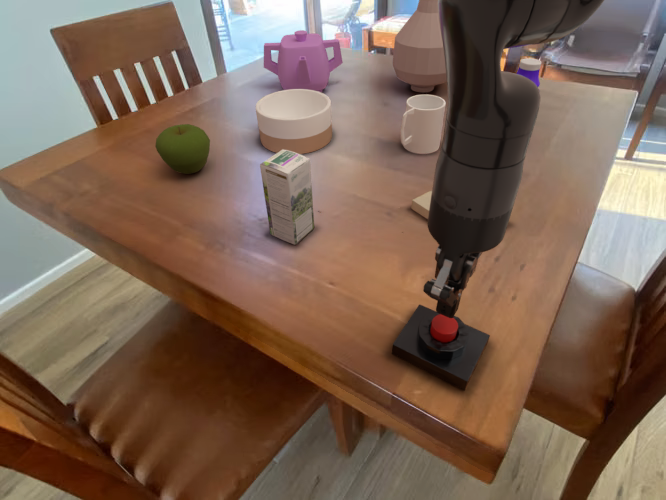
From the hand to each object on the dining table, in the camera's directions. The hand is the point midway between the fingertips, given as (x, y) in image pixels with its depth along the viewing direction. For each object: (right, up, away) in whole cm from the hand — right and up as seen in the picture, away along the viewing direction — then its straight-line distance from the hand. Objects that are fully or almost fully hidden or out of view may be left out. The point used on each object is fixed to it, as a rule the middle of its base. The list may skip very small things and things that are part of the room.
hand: (446, 311), depth 52 cm
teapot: (-22, +55, +75) cm, 96 cm away
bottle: (+27, +32, +47) cm, 63 cm away
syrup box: (-21, +10, +25) cm, 34 cm away
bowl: (-22, +34, +52) cm, 66 cm away
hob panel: (+9, +14, +26) cm, 31 cm away
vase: (+12, +54, +71) cm, 90 cm away
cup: (+5, +30, +46) cm, 55 cm away
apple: (-44, +25, +42) cm, 66 cm away
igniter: (0, -6, +5) cm, 8 cm away
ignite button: (0, -3, +3) cm, 4 cm away
